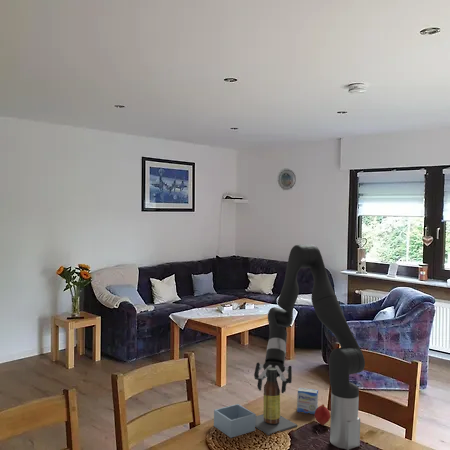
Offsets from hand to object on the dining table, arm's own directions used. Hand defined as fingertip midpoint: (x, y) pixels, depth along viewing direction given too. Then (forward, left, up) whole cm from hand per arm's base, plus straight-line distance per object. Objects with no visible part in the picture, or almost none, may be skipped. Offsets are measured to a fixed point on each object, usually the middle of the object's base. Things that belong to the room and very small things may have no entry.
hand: (271, 391), depth 176 cm
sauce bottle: (+1, -1, -12) cm, 12 cm away
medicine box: (+2, -21, -13) cm, 24 cm away
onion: (-10, -17, -13) cm, 23 cm away
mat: (+1, -1, -13) cm, 13 cm away
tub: (+5, +13, -13) cm, 19 cm away
